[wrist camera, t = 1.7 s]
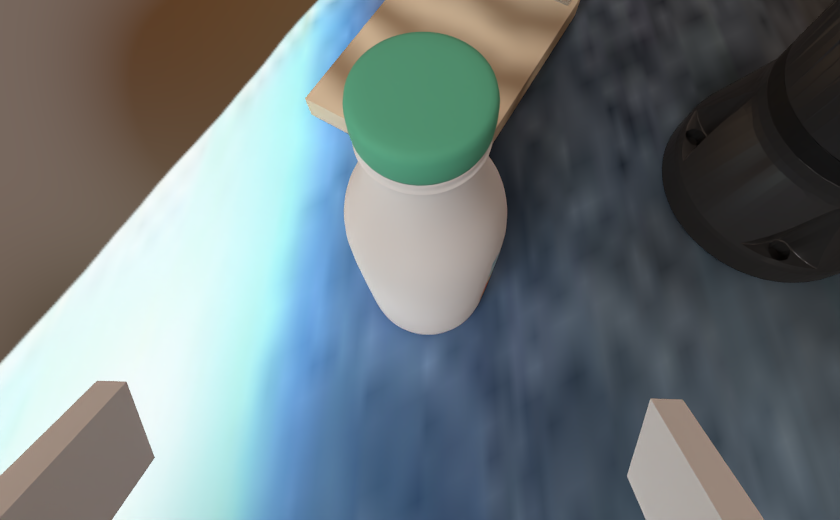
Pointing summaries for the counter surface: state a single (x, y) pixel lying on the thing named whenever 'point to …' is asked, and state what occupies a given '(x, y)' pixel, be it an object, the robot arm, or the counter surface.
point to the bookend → (564, 1)
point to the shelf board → (468, 21)
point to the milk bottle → (424, 178)
